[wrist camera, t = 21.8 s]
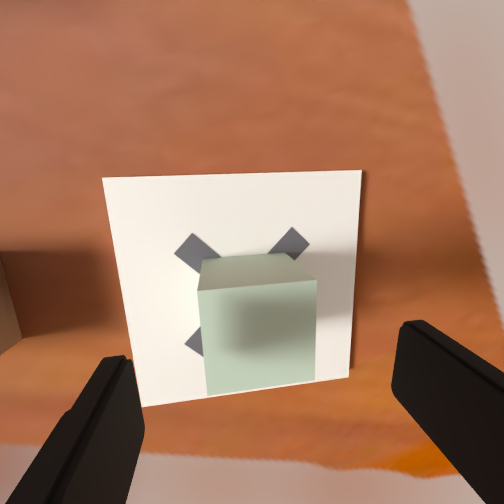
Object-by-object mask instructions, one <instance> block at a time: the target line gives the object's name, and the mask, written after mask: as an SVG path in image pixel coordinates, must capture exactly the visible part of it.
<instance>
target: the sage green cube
mask: <svg viewBox="0 0 504 504" xmlns="http://www.w3.org/2000/svg"><path fill="white" fill-rule="evenodd" d="M197 296H198V306H199V316H200V326H201V336H202V346H203V356H204V366H205V376H206V386H207V396H210V395H217V394H223V393H230V392H237V391H244V390H251V389H257V388H264V387H271V386H278V385H285V384H291V383H298V382H305V381H312V380H315V350H316V305H317V279H315V278H314V277H313V276H312V275H311V274H310V273H308V272H307V271H306V270H305V269H304V268H302V267H301V266H300V265H299V264H298V263H297V262H295V261H294V260H293V259H292V258H291V257H290V256H288V255H287V254H286V253H273V254H260V255H247V256H233V257H220V258H207V259H203V260H202V266H201V272H200V277H199V283H198V288H197Z"/></svg>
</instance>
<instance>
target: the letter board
mask: <svg viewBox="0 0 504 504" xmlns="http://www.w3.org/2000/svg"><path fill="white" fill-rule="evenodd" d="M361 172H362V170H348V171H314V172H281V173H247V174H213V175H179V176H145V177H112V178H102V180H103V186H104V192H105V198H106V203H107V209H108V215H109V221H110V226H111V232H112V238H113V244H114V249H115V255H116V261H117V267H118V272H119V278H120V284H121V290H122V296H123V301H124V307H125V313H126V319H127V324H128V330H129V336H130V342H131V347H132V353H133V359H134V365H135V370H136V376H137V382H138V388H139V393H140V399H141V405H142V407H146V406H153V405H160V404H167V403H174V402H181V401H188V400H194V399H201V398H208V397H215V396H222V395H229V394H236V393H243V392H250V391H256V390H263V389H270V388H277V387H284V386H291V385H298V384H305V383H311V382H318V381H325V380H332V379H339V378H346V377H349V361H350V346H351V330H352V314H353V298H354V283H355V267H356V251H357V235H358V220H359V204H360V188H361ZM273 253H286V254H287V255H288V256H290V257H291V258H292V259H293V260H294V261H295V262H297V263H298V264H299V265H300V266H301V267H302V268H304V269H305V270H306V271H307V272H308V273H310V274H311V275H312V276H313V277H314V278H315V279H317V305H316V350H315V380H312V381H305V382H298V383H291V384H285V385H278V386H271V387H264V388H257V389H251V390H244V391H237V392H230V393H223V394H217V395H210V396H207V386H206V376H205V366H204V356H203V346H202V336H201V326H200V316H199V306H198V296H197V288H198V283H199V277H200V272H201V266H202V260H203V259H207V258H220V257H233V256H247V255H260V254H273Z"/></svg>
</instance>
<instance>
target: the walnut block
mask: <svg viewBox="0 0 504 504" xmlns="http://www.w3.org/2000/svg"><path fill="white" fill-rule="evenodd" d="M21 339H23V338H22V335H21V331H20V327H19V324H18V320H17V316H16V313H15V309H14V305H13V302H12V298H11V294H10V291H9V287H8V284H7V280H6V276H5V273H4V269H3V265H2V262H1V258H0V355H1V354H3V353H4V352H5V351H7V350H8V349H9V348H11V347H12V346H13V345H15V344H16V343H17V342H19V341H20V340H21Z"/></svg>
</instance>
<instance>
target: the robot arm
mask: <svg viewBox="0 0 504 504" xmlns="http://www.w3.org/2000/svg"><path fill="white" fill-rule="evenodd" d="M391 388H392V392H393V394H394V396H395V397H396V399H397V400H398V401H399V402H400V403H401V404H402V406H403V407H404V408H405V409H406V410H407V411H408V413H409V414H410V415H411V416H412V417H413V419H414V420H415V421H416V422H417V423H418V424H419V426H420V427H421V428H422V429H423V430H424V432H425V433H426V434H427V435H428V436H429V437H430V439H431V440H432V441H433V442H434V443H435V445H436V446H437V447H438V448H439V449H440V450H441V452H442V453H443V454H444V455H445V456H446V457H447V459H448V460H449V461H450V462H451V463H452V465H453V466H454V467H455V468H456V469H457V470H458V472H459V473H460V474H461V475H462V476H463V478H464V479H465V480H466V481H467V482H468V483H469V484H470V486H471V487H472V488H473V489H474V490H475V491H476V493H477V494H478V495H479V496H480V497H481V499H482V500H483V501H484V502H485V503H486V504H504V372H502V371H500V370H499V369H497V368H496V367H494V366H493V365H491V364H490V363H488V362H487V361H485V360H484V359H482V358H481V357H479V356H478V355H476V354H474V353H473V352H471V351H470V350H468V349H467V348H465V347H464V346H462V345H461V344H459V343H458V342H456V341H455V340H453V339H452V338H450V337H448V336H447V335H445V334H444V333H442V332H441V331H439V330H438V329H436V328H435V327H433V326H432V325H430V324H429V323H427V322H426V321H423V320H414V321H406V322H404V323H403V326H402V327H400V330H399V336H398V343H397V350H396V356H395V363H394V370H393V377H392V384H391ZM144 432H145V425H144V419H143V414H142V409H141V403H140V398H139V393H138V388H137V383H136V378H135V372H134V367H133V363H132V360H131V359H128V360H127V359H126V357H125V356H124V355H120V356H112V357H105V358H103V359H102V360H101V362H100V364H99V365H98V367H97V368H96V370H95V371H94V373H93V375H92V376H91V378H90V379H89V381H88V383H87V384H86V386H85V387H84V389H83V390H82V392H81V394H80V395H79V397H78V398H77V400H76V402H75V403H74V405H73V406H72V408H71V409H70V410H68V411H67V412H65V413H64V415H63V416H62V417H61V419H60V420H59V422H58V423H57V425H56V426H55V428H54V429H53V431H52V432H51V434H50V435H49V437H48V439H47V440H46V442H45V443H44V445H43V446H42V448H41V449H40V451H39V452H38V454H37V456H36V457H35V459H34V460H33V462H32V463H31V465H30V467H29V468H28V469H27V471H26V472H25V474H24V475H23V477H22V479H21V480H20V482H19V483H18V485H17V486H16V488H15V489H14V491H13V492H12V494H11V496H10V497H9V499H8V500H7V502H6V503H5V504H126V500H127V496H128V493H129V489H130V486H131V482H132V478H133V475H134V471H135V467H136V464H137V460H138V456H139V453H140V449H141V445H142V442H143V438H144Z"/></svg>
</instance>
